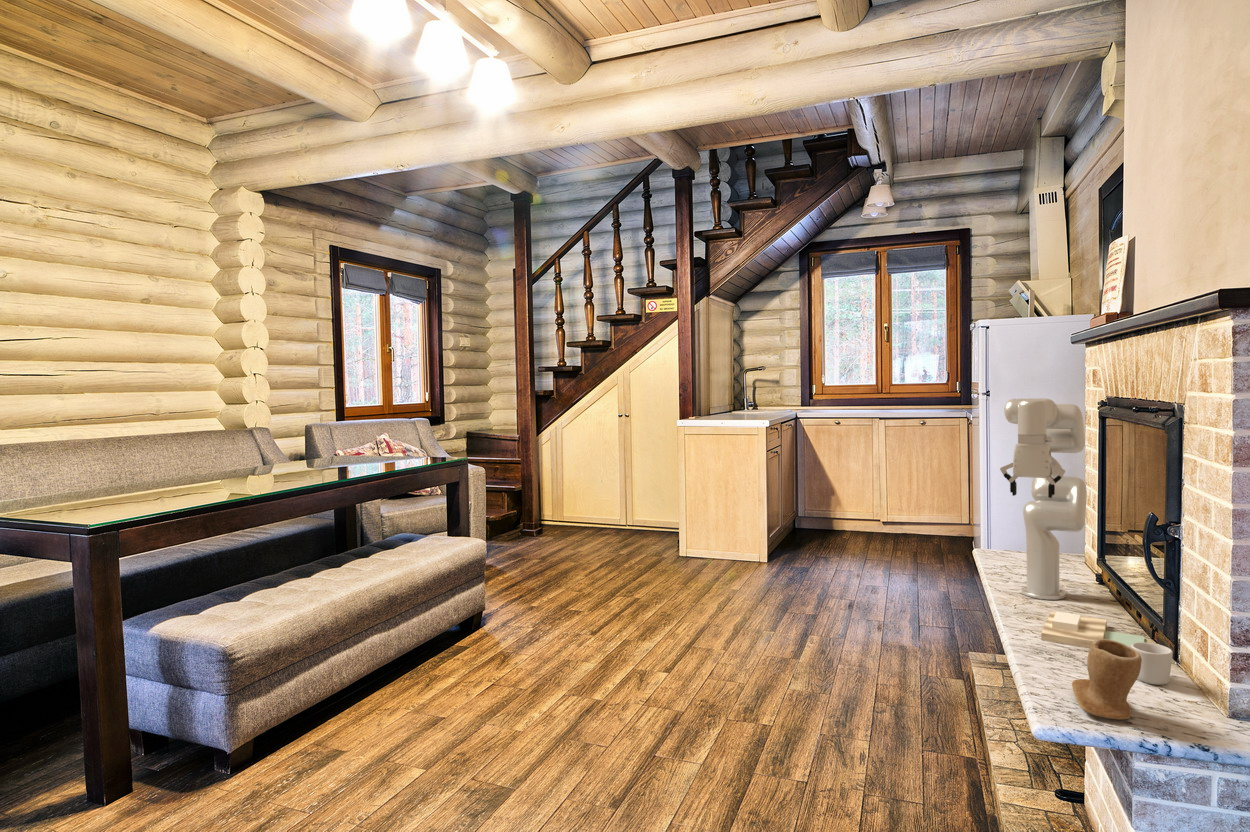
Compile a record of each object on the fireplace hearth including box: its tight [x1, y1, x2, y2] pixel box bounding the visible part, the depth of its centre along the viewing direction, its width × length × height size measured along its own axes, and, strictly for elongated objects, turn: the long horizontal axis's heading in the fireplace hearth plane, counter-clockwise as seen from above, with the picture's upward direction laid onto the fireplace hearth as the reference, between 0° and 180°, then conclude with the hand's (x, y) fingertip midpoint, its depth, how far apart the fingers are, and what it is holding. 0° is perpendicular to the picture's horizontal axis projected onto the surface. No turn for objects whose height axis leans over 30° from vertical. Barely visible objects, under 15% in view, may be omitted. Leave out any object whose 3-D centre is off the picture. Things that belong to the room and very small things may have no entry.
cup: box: [1131, 641, 1174, 686], centre depth 170 cm, size 11×8×8 cm
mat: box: [1104, 630, 1145, 647], centre depth 192 cm, size 18×9×1 cm, turn 143°
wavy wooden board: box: [1040, 611, 1108, 649], centre depth 202 cm, size 22×14×2 cm, turn 143°
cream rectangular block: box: [1052, 611, 1082, 632], centre depth 203 cm, size 10×6×2 cm, turn 143°
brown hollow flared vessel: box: [1071, 639, 1142, 721], centre depth 156 cm, size 15×12×15 cm
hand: (1032, 496), depth 217 cm, fingers open, 9 cm apart
